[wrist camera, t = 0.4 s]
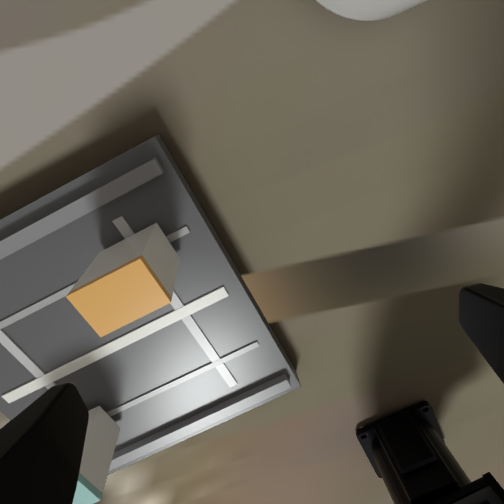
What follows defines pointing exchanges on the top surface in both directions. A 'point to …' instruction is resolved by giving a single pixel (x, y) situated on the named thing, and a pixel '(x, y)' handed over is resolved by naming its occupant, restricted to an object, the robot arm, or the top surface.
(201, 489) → the top surface
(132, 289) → the grey rectangular block
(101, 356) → the console
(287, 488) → the top surface
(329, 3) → the mug
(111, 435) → the fader teal
